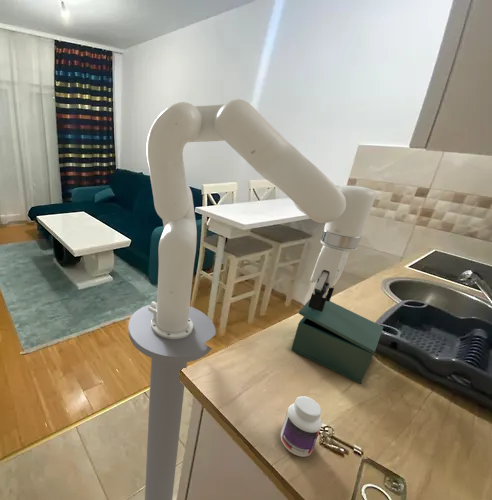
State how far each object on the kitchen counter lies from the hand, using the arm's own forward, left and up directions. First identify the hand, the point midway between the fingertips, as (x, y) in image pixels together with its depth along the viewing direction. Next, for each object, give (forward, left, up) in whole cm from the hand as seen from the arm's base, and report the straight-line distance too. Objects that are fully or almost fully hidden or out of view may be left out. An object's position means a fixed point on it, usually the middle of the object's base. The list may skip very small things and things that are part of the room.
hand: (319, 303), depth 75 cm
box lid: (+5, 0, -3) cm, 6 cm away
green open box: (+6, 0, -13) cm, 14 cm away
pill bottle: (+8, -32, -13) cm, 35 cm away
